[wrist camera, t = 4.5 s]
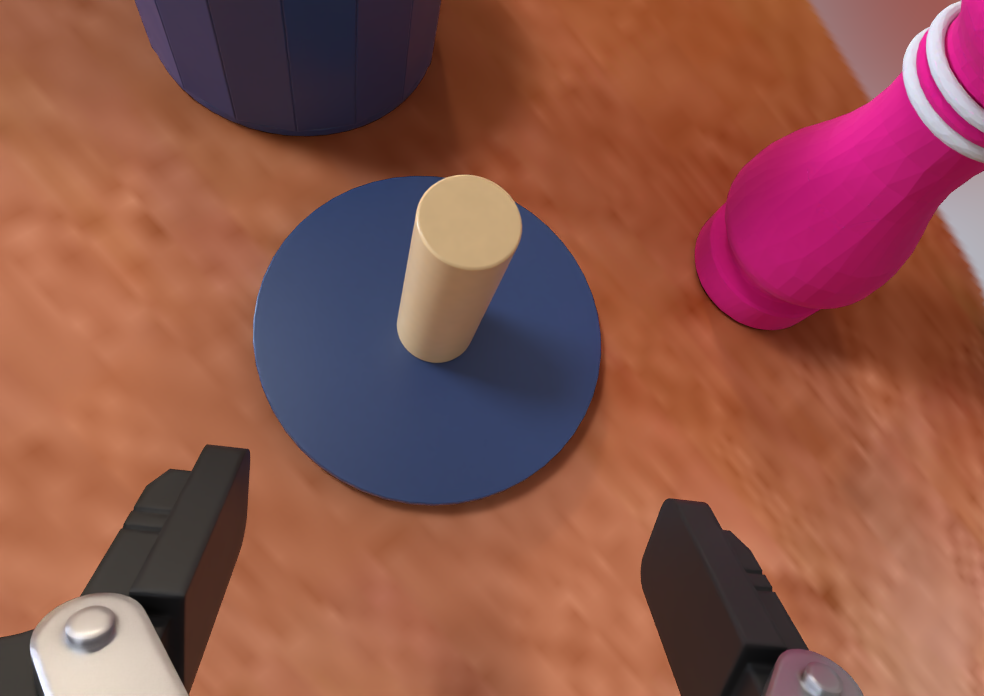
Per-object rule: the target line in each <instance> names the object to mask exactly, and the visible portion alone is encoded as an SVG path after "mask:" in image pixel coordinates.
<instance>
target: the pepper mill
mask: <svg viewBox="0 0 984 696" xmlns="http://www.w3.org/2000/svg"><path fill="white" fill-rule="evenodd" d="M982 171H984V0H962V1H960V2H957V3H955V4H952V5H950V6H948V7H947V8H946V9H944V10H943V11H942V12H940V14H938V15H937V17H936V18H935V20H934V21H933V22H932V24H931V26H930V27H929V28H926V29H925V30H923V31H922V32H920V33H919V34H918V35H917V36H915V38H914V39H913V40H912V41H911V43H910V45H909V46H908V48H907V50H906V53H905V56H904V60H903V71H902V72H901V73H900V75H899V76H898V77H897V78H896V79H895V80H894V82H893V83H892V84H891V85H890V86H889V87H888V88H886V89H885V90H884V91H883V92H882V93H880V94H879V95H878V96H877V97H875V98H874V99H873V100H872V101H871V102H869V103H867V104H866V105H864V106H862V107H860V108H858V109H856V110H855V111H853V112H850V113H848V114H845V115H843V116H840V117H837V118H835V119H832V120H829V121H825V122H822V123H819V124H815V125H812V126H809V127H805V128H802V129H799V130H797V131H795V132H793V133H791V134H789V135H787V136H785V137H783V138H781V139H779V140H777V141H775V142H773V143H772V144H770V145H769V146H768V147H766V148H765V149H764V150H762V151H761V152H760V153H759V154H758V155H756V156H755V157H754V158H753V159H752V160H751V161H749V162H748V163H747V164H746V165H745V166H744V167H743V168H742V169H741V171H740V172H739V173H738V175H737V176H736V178H735V180H734V181H733V183H732V185H731V188H730V190H729V193H728V197H727V201H726V203H725V204H724V205H722V206H721V207H720V208H719V209H718V210H717V212H716V213H715V214H714V215H713V216H712V217H711V218H710V219H709V220H708V221H707V222H706V223H705V225H704V226H703V227H702V229H701V231H700V233H699V236H698V238H697V241H696V247H695V265H696V270H697V273H698V276H699V279H700V282H701V285H702V286H703V288H704V289H705V291H706V293H707V294H708V296H709V297H710V299H711V300H712V301H713V302H714V303H715V304H716V305H717V306H718V307H719V308H720V310H722V311H723V312H724V313H726V314H727V315H729V316H730V317H731V318H733V319H734V320H736V321H737V322H739V323H742V324H745V325H747V326H750V327H753V328H757V329H764V330H779V329H784V328H787V327H790V326H793V325H795V324H797V323H798V322H800V321H802V320H803V319H805V318H807V317H808V316H810V315H812V314H813V313H815V312H817V311H819V310H820V309H833V308H839V307H843V306H847V305H850V304H853V303H855V302H858V301H860V300H862V299H864V298H865V297H867V296H868V295H869V294H871V293H872V292H874V291H875V290H877V289H878V288H879V287H881V286H882V285H884V284H885V283H886V282H887V281H888V280H889V279H890V278H891V277H892V276H893V275H895V274H896V273H897V271H898V270H899V269H900V268H901V266H902V265H903V264H904V263H905V261H906V260H907V259H908V258H909V257H910V255H911V254H912V253H913V251H914V249H915V247H916V245H917V244H918V242H919V240H920V238H921V237H922V235H923V233H924V231H925V229H926V227H927V224H928V222H929V221H930V219H931V217H932V216H933V214H934V213H935V211H936V209H937V208H938V206H939V205H940V204H941V203H942V202H943V201H944V200H945V199H946V198H947V196H948V195H949V194H950V193H951V192H953V191H954V190H955V189H957V188H958V187H960V186H961V185H962V184H964V183H965V182H966V181H968V180H969V179H971V178H972V177H973V176H975V175H977V174H979V173H981V172H982Z"/></svg>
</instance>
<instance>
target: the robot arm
mask: <svg viewBox="0 0 984 696" xmlns="http://www.w3.org/2000/svg"><path fill="white" fill-rule="evenodd" d="M249 470H250V451H249V449H243V448H234V447H225V446H217V445H208V444H207V445H206V446H205V447H204V449H203V450H202V452H201V454H200V456H199V458H198V460H197V462H196V464H195V466H194V468H193V470H192V471H185V470H175V469H169V470H168V471H166V472H165V473H164V474H162V475H161V476H159V477H158V478H157V479H155V480H154V481H153V482H151V483H150V484H148V485H147V486H146V488H145V489H144V491H143V493H142V494H141V496H140V498H139V499H138V501H137V503H136V504H135V506H134V510H133V511H131V513H130V514H129V516H128V518H127V519H126V521H125V523H124V526H123V529H120V531H119V533H118V534H117V536H116V538H115V539H114V541H113V543H112V544H111V546H110V548H109V549H108V551H107V553H106V554H105V556H104V558H103V559H102V561H101V563H100V564H99V566H98V568H97V569H96V571H95V573H94V574H93V576H92V578H91V579H90V581H89V583H88V584H87V586H86V588H85V589H84V591H83V593H82V594H81V596H80V597H77V598H74V599H72V600H69V601H67V602H65V603H63V604H61V605H60V606H58V607H56V608H55V609H53V610H52V611H51V612H49V613H48V614H47V615H46V616H45V617H44V618H43V619H42V620H41V621H40V622H39V623H38V625H37V626H36V628H35V629H33V630H30V631H27V632H24V633H20V634H16V635H11V636H7V637H1V638H0V696H189V693H190V690H191V687H192V684H193V682H194V679H195V676H196V673H197V670H198V667H199V665H200V662H201V659H202V656H203V653H204V651H205V648H206V645H207V642H208V639H209V637H210V634H211V631H212V628H213V625H214V623H215V620H216V617H217V614H218V611H219V608H220V606H221V603H222V600H223V597H224V594H225V592H226V589H227V586H228V583H229V580H230V578H231V575H232V572H233V569H234V566H235V563H236V561H237V558H238V555H239V552H240V549H241V546H242V542H243V537H244V532H245V527H246V519H247V505H248V487H249ZM641 584H642V589H643V592H644V595H645V597H646V600H647V603H648V606H649V608H650V611H651V614H652V617H653V619H654V622H655V625H656V628H657V630H658V633H659V636H660V639H661V642H662V644H663V647H664V650H665V653H666V655H667V658H668V661H669V664H670V666H671V669H672V672H673V675H674V677H675V680H676V683H677V686H678V689H679V691H680V694H681V696H863V693H862V691H861V690H860V688H859V686H858V685H857V683H856V682H855V681H854V680H853V678H852V677H851V676H850V675H849V674H848V673H847V672H846V671H845V670H843V669H842V668H841V667H840V666H839V665H837V664H836V663H834V662H833V661H831V660H830V659H828V658H826V657H824V656H822V655H820V654H818V653H815V652H812V651H809V649H808V648H807V646H806V644H805V643H804V641H803V639H802V637H801V636H800V634H799V632H798V631H797V629H796V627H795V626H794V624H793V622H792V620H791V619H790V617H789V615H788V614H787V612H786V610H785V609H784V607H783V605H782V603H781V602H780V600H779V598H778V597H777V595H776V593H775V592H772V586H771V585H770V583H769V581H768V580H767V578H766V576H765V575H762V569H761V568H760V566H759V564H758V562H757V561H756V559H755V557H754V556H753V554H752V552H751V551H750V549H749V548H748V547H746V546H745V545H744V544H743V543H742V542H741V541H740V540H739V539H738V538H737V537H736V536H735V535H734V534H733V533H732V532H731V531H727V530H722V528H721V526H720V524H719V523H718V521H717V519H716V517H715V516H714V514H713V512H712V510H711V508H710V507H709V505H708V504H707V503H705V502H697V501H688V500H679V499H670V498H669V499H667V500H665V502H664V503H663V505H662V507H661V509H660V512H659V515H658V517H657V520H656V523H655V525H654V528H653V531H652V534H651V536H650V539H649V542H648V544H647V547H646V550H645V553H644V555H643V559H642V564H641Z"/></svg>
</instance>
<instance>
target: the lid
mask: <svg viewBox="0 0 984 696" xmlns="http://www.w3.org/2000/svg"><path fill="white" fill-rule="evenodd" d="M253 345H254V353H255V361H256V366H257V370H258V374H259V377H260V381H261V384H262V388H263V390H264V392H265V394H266V397H267V399H268V401H269V404H270V406H271V408H272V410H273V412H274V414H275V415H276V417H277V419H278V420H279V422H280V423H281V425H282V427H283V428H284V430H285V431H286V433H287V434H288V435H289V436H290V437H291V439H292V440H293V441H294V442H295V443H296V445H297V446H298V447H299V448H300V449H301V450H302V451H303V452H304V453H305V454H306V455H307V456H308V457H309V458H310V459H312V460H313V461H314V462H315V463H316V464H317V465H318V466H319V467H321V468H322V469H324V470H325V471H327V472H328V473H330V474H331V475H333V476H334V477H335V478H337V479H338V480H340V481H342V482H344V483H346V484H348V485H350V486H352V487H354V488H356V489H358V490H360V491H362V492H365V493H368V494H371V495H374V496H377V497H380V498H383V499H386V500H391V501H396V502H401V503H406V504H415V505H430V506H436V505H451V504H460V503H465V502H470V501H474V500H479V499H483V498H486V497H488V496H491V495H494V494H497V493H500V492H503V491H505V490H507V489H508V488H510V487H512V486H514V485H516V484H518V483H520V482H522V481H524V480H525V479H527V478H528V477H530V476H531V475H533V474H534V473H535V472H537V471H538V470H540V469H541V468H542V467H544V466H545V465H546V464H547V463H548V462H549V461H550V460H551V459H552V458H553V457H555V456H556V455H557V454H558V453H559V452H560V451H561V450H562V448H563V447H564V446H565V445H566V443H567V442H568V441H569V440H570V438H571V437H572V436H573V435H574V433H575V431H576V430H577V428H578V426H579V425H580V423H581V421H582V420H583V418H584V416H585V414H586V412H587V409H588V407H589V405H590V402H591V400H592V398H593V395H594V391H595V387H596V383H597V379H598V375H599V367H600V359H601V334H600V327H599V320H598V314H597V310H596V306H595V303H594V299H593V296H592V293H591V290H590V288H589V286H588V283H587V281H586V279H585V276H584V274H583V273H582V271H581V269H580V267H579V266H578V264H577V262H576V260H575V259H574V257H573V256H572V254H571V253H570V252H569V250H568V249H567V248H566V246H565V245H564V244H563V242H562V241H561V240H560V239H559V238H558V237H557V236H556V235H555V234H554V233H553V231H552V230H551V229H550V228H549V227H548V226H547V225H545V224H544V223H543V222H542V221H541V220H539V219H538V218H537V217H536V216H535V215H534V214H532V213H531V212H529V211H528V210H526V209H525V208H523V207H522V206H520V205H519V204H517V203H516V202H514V200H513V199H512V198H511V196H510V195H509V194H508V193H507V192H506V191H505V190H504V189H503V188H501V187H500V186H499V185H497V184H496V183H494V182H492V181H490V180H488V179H485V178H483V177H479V176H474V175H455V176H450V177H447V178H442V177H434V176H408V177H397V178H390V179H385V180H381V181H376V182H372V183H369V184H366V185H363V186H360V187H357V188H354V189H352V190H349V191H347V192H345V193H343V194H341V195H339V196H337V197H335V198H333V199H332V200H330V201H328V202H327V203H325V204H324V205H322V206H321V207H319V208H318V209H316V210H315V211H314V212H313V213H311V214H310V215H309V216H308V217H307V218H306V219H304V220H303V221H302V222H301V223H300V224H299V225H298V226H297V227H296V228H295V229H294V230H293V231H292V233H291V234H290V235H289V236H288V237H287V238H286V239H285V241H284V242H283V244H282V245H281V247H280V248H279V250H278V251H277V253H276V254H275V256H274V257H273V259H272V261H271V263H270V265H269V267H268V269H267V271H266V273H265V275H264V278H263V281H262V284H261V287H260V290H259V293H258V297H257V302H256V308H255V314H254V321H253Z"/></svg>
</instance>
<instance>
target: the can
mask: <svg viewBox="0 0 984 696" xmlns="http://www.w3.org/2000/svg"><path fill="white" fill-rule="evenodd" d="M135 3H136V5H137V8H138V11H139V13H140V16H141V19H142V22H143V24H144V27H145V30H146V33H147V35H148V38H149V41H150V43H151V46H152V48H153V49H154V51H155V52H156V53H157V54H158V56H159V58H160V60H161V62H162V63H163V65H164V66H165V68H166V69H167V71H168V72H169V74H170V75H171V76H172V78H173V79H174V80H175V81H176V82H177V83H178V84H179V86H180V87H181V88H182V89H183V90H185V91H186V92H187V93H188V94H189V95H190V96H191V97H193V98H194V99H195V100H196V101H197V102H199V103H200V104H202V105H203V106H205V107H206V108H208V109H209V110H211V111H212V112H214V113H216V114H218V115H220V116H222V117H224V118H226V119H228V120H230V121H233V122H235V123H238V124H241V125H243V126H246V127H248V128H252V129H256V130H260V131H264V132H268V133H275V134H281V135H290V136H317V135H328V134H334V133H339V132H345V131H348V130H352V129H355V128H358V127H361V126H364V125H366V124H368V123H371V122H373V121H375V120H377V119H379V118H381V117H383V116H384V115H386V114H387V113H389V112H391V111H392V110H394V109H395V108H396V107H397V106H399V105H400V104H401V103H402V102H403V101H405V100H406V99H407V98H408V96H409V95H410V94H411V93H412V92H413V91H414V90H415V89H416V87H417V86H418V84H419V83H420V81H421V80H422V78H423V77H424V75H425V73H426V70H427V68H428V67H429V65H430V63H431V59H432V53H433V48H434V42H435V36H436V30H437V24H438V18H439V11H440V5H441V0H135Z"/></svg>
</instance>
